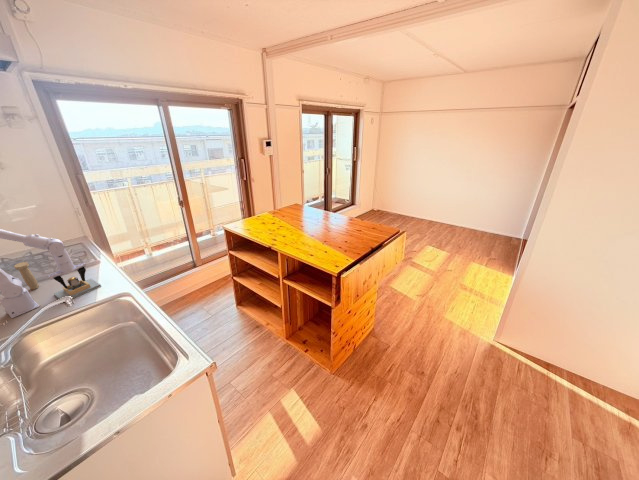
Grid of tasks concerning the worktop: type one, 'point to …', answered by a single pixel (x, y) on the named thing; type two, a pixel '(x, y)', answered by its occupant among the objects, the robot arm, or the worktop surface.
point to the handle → (27, 275)
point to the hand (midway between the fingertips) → (75, 284)
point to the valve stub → (74, 283)
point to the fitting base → (78, 289)
